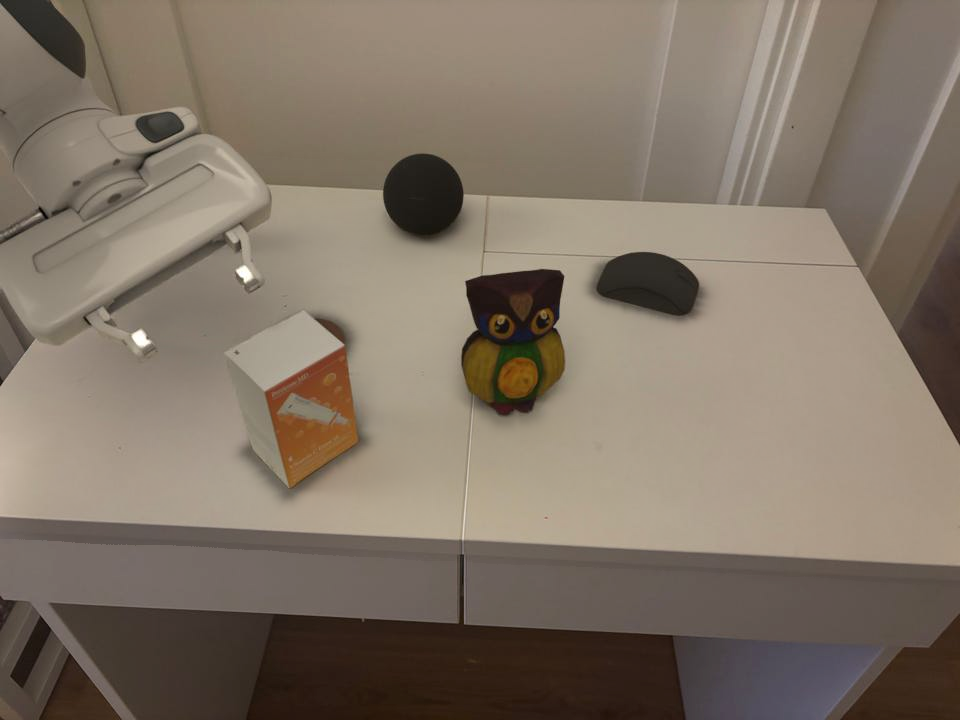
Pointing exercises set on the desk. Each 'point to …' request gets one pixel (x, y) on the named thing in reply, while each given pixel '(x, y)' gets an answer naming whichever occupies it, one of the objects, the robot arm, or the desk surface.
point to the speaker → (423, 194)
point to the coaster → (332, 329)
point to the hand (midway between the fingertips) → (204, 320)
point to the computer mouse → (650, 282)
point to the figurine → (514, 338)
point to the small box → (294, 396)
